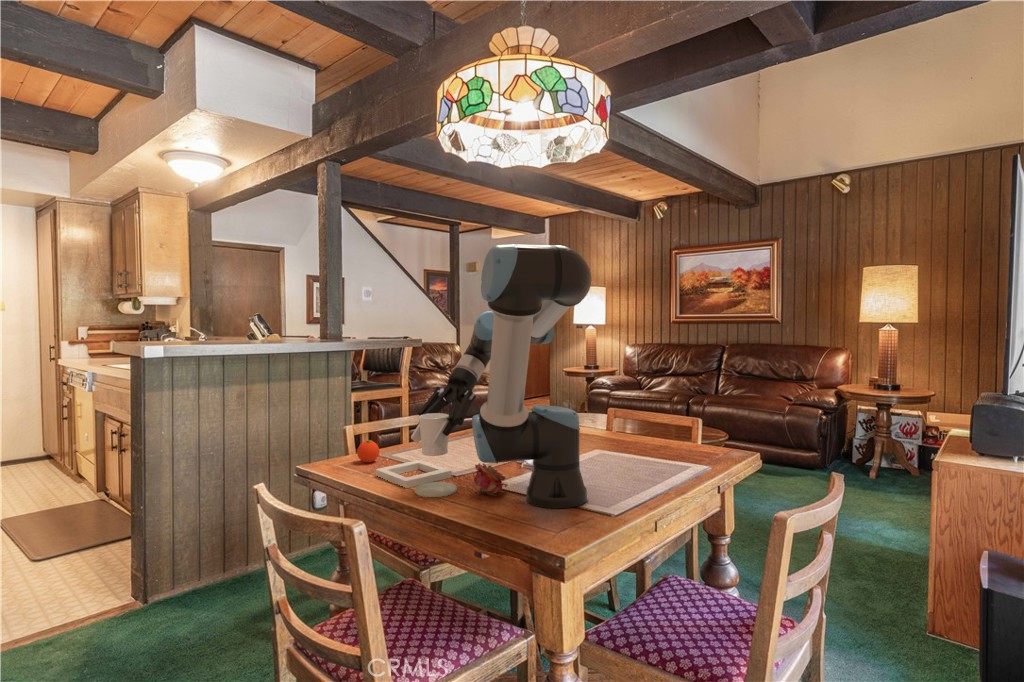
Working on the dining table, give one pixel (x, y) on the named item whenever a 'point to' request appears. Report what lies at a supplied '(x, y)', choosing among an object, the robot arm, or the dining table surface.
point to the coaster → (435, 489)
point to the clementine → (368, 451)
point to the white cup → (432, 433)
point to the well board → (433, 475)
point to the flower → (488, 479)
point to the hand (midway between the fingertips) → (425, 442)
